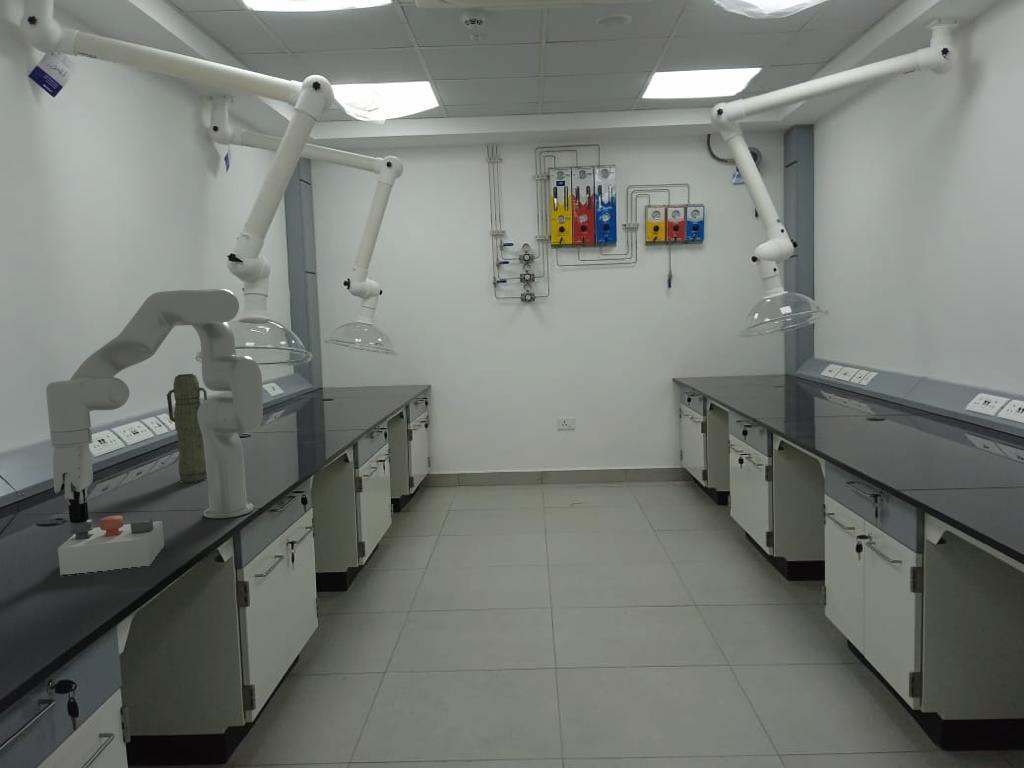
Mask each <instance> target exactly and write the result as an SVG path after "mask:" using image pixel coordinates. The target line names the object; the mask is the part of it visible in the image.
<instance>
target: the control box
mask: <svg viewBox="0 0 1024 768" xmlns="http://www.w3.org/2000/svg"><path fill="white" fill-rule="evenodd" d="M153 528H154V529H153V530H152V531H149V532H146V533H139V534H134V533H131V523H129V524H128V523H127V524H123V527H121V528H119V535H118V536H108V537H107V535H106V530H101V528H100V526H97V527H93V530H91V531H88V533H89V539H80V540H76V534H72V536H71V537H70V538H68V539H67V540H66V541H65V542H64V543H62V544H61V545H60V546H58V547H57V555H58V556H57V557H58V564H59V573H60V574H59V575H60V576H61V575H62V574H75V573H85V574H87V573H86V572H94V573H98V572H97V571H103V572H108V571H107V570H111V571H115V570H114V569H120V570H123V569H122V568H128V569H132V568H131V567H137V568H142V567H141V566H146V567H150V566H151V565H152V563H154V561H155V559H156V558H157V557H156V556H158V555H159V554H160V553H161V551H162V550H163V548H164V547H165V540H164V539H165V538H164V528H163V520H157V521H153ZM163 546H164V547H163ZM161 549H162V550H161ZM158 553H159V554H158ZM155 557H156V558H155ZM153 560H154V561H153ZM150 564H151V565H150Z"/></svg>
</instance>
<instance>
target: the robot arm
mask: <svg viewBox="0 0 1024 768" xmlns="http://www.w3.org/2000/svg"><path fill="white" fill-rule="evenodd" d="M239 310H240V302H239V299H238V297H237V296H236V294H234V293H233V292H232V291H231V290H228V289H226V288H214V289H213V288H210V289H197V290H196V289H193V290H192V289H191V290H189V289H188V290H187V289H181V290H166V291H164V290H163V291H158V292H154V293H152V294H151V295H149V296H148V297H147V298H146V300H144V302H143V303H142V304H141V306H140V307H139V309H138V310H137V311H136V312H135V313H134V315H133V316H132V318H131V319H130V320H129V321H128V323H127V324H126V325H125V327H124V328H123V329H122V331H121V332H120V333H119V334H118V335H117V336H116V337H114V338H113V339H111V340H110V341H108V342H107V343H105V344H104V345H102V346H101V347H100V348H99V349H97V350H95V351H94V352H93V353H92V354H90V355H89V356H87V358H86V359H85V360H84V361H83V362H82V363H81V364H80V366H79V367H78V368H77V370H76V371H75V372H74V373H73V375H72V376H71V377H70V379H69V380H57V381H52V382H49V383H48V384H47V386H46V388H45V395H46V403H47V405H46V406H47V413H48V414H47V416H48V424H49V435H50V442H51V443H50V444H51V448H53V453H52V454H53V455H52V473H53V491H54V492H55V494H58V495H59V494H62V493H64V499H65V501H66V502H67V505H68V506H67V507H68V516H69V523H70V522H71V523H77V522H85V521H87V520H88V519H90V517H89V507H88V489H89V486H90V485H91V484H92V483H93V481H94V474H93V473H94V471H93V470H94V469H93V463H92V454H91V449H90V444H93V435H92V423H91V412H93V411H113V410H116V409H119V408H122V407H123V406H124V405H125V404H126V403H127V402H128V400H129V397H130V389H129V386H128V385H127V383H126V382H125V381H123V380H121V379H120V378H117V377H115V376H116V375H118V374H119V373H121V372H123V371H124V370H125V369H128V368H129V367H132V366H135V365H138V364H140V363H143V362H144V361H147V360H148V359H150V358H152V357H153V356H154V355H155V354H156V352H157V351H158V350H159V348H160V346H161V345H162V344H163V343H164V341H165V339H166V338H167V337H168V335H169V334H170V333H171V331H172V330H173V328H175V327H176V326H178V327H179V326H192V328H193V329H194V330H195V331H196V333H197V335H198V338H199V341H200V353H201V355H200V356H201V377H202V378H201V379H202V382H203V385H204V386H205V388H207V389H208V390H210V391H213V392H224V393H226V392H227V393H228V392H229V393H231V395H232V396H213V397H208V398H207V400H205V401H204V400H203V401H202V402H201V405H200V407H199V409H198V415H197V416H198V422H199V426H200V429H201V432H202V436H203V441H204V449H205V460H206V472H207V480H206V482H207V492H208V494H207V495H208V505H209V507H207V508H205V509H204V510H203V516H204V517H205V518H208V519H228V518H235V517H240V516H243V515H246V514H248V513H251V512H252V511H253V510H254V507H255V506H254V504H253V503H251V502H249V501H248V497H247V486H246V473H245V460H244V459H245V458H244V447H243V442H242V440H241V438H240V436H239V434H248V433H249V434H250V433H252V432H255V431H257V429H259V427H260V425H262V424H261V423H262V421H263V416H264V415H263V414H264V401H263V400H264V399H263V377H262V376H263V375H262V370H261V367H260V365H259V364H258V362H257V361H256V360H255V359H254V358H252V357H250V356H248V355H237V352H236V340H235V335H234V332H233V329H232V328H231V326H230V324H229V323H228V322H230V321H232V320H233V319H235V318H236V316H237V315H238V314H239Z"/></svg>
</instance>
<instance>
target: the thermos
mask: <svg viewBox="0 0 1024 768" xmlns="http://www.w3.org/2000/svg"><path fill="white" fill-rule="evenodd" d="M201 391H202V392H203V398H204V399H203V402H204V401H205V400H207V399H208V395H207V390H206V389H205V388H204V387H201V386H200V382H199V379H198V377H197V375H196V374H193V373H183V374H177V375H175V377H174V381H173V389H171V390H168V393H167V394H166V399H167V401H166V402H167V408H168V415H169V416H168V417H169V420H170V421H171V422H173V423H174V427H175V431H176V435H177V444H178V445H177V446H178V454H179V456H178V457H179V462H178V464H177V466H178V474H179V478H180V479H179V481H182V482H194V483H197V482H196V481H200V482H203V481H202V480H204V481H206V480H205V479H207V472H206V460H205V449H204V441H203V436H202V432H201V429H200V426H199V422H198V416H197V415H198V409H199V407H200V405H201V404H202V402H201V399H200V397H201V394H200V392H201ZM172 394H173V395H174V400H175V404H174V411H173V402H172ZM182 482H181V483H182Z"/></svg>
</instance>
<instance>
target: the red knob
mask: <svg viewBox="0 0 1024 768" xmlns="http://www.w3.org/2000/svg"><path fill="white" fill-rule="evenodd" d="M123 525H124V519H123V515H110V516H105V517H102V518H100V519H99V527H100V528H101V530H106V535H107V537H108V536H118V535H119V528H121V527H123Z"/></svg>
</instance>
